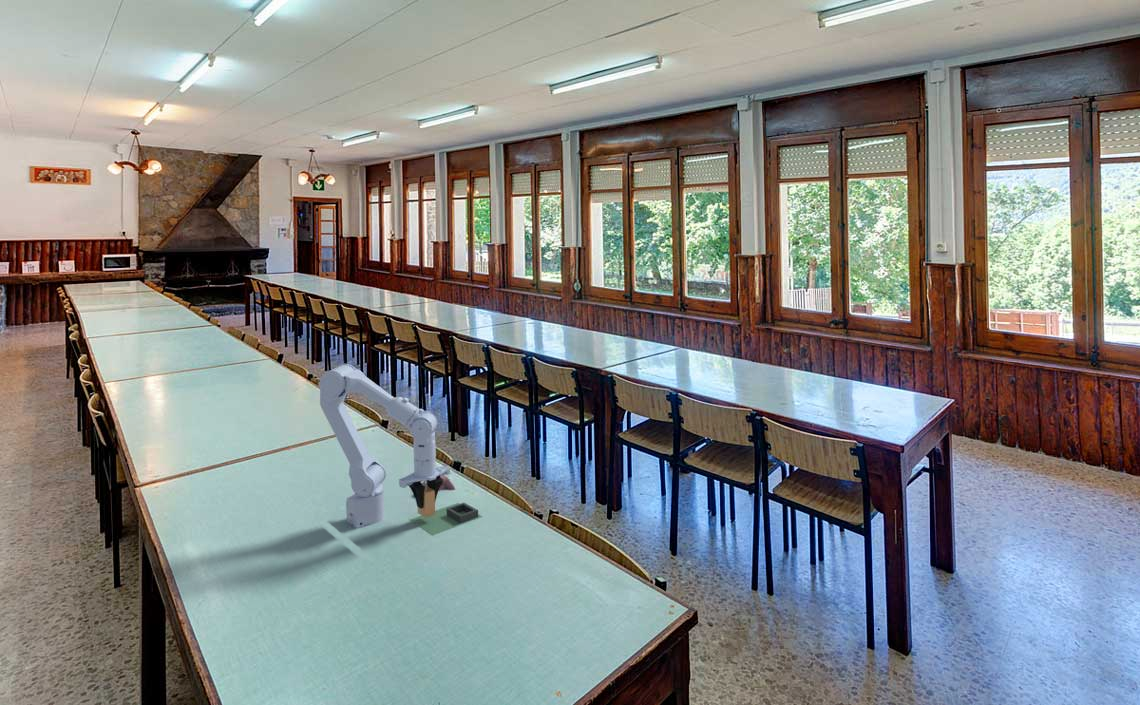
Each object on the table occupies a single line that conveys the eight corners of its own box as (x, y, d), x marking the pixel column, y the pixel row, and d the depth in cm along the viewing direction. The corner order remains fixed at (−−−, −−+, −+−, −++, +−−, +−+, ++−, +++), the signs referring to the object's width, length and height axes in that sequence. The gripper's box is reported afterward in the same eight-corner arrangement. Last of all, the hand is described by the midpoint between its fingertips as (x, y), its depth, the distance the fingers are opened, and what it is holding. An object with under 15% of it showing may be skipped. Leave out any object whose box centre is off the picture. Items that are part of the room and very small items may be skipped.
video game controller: (449, 494, 191) (442, 472, 191) (457, 491, 188) (450, 469, 189) (423, 504, 183) (416, 482, 184) (432, 501, 180) (424, 479, 181)
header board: (432, 539, 159) (432, 528, 158) (409, 523, 167) (408, 512, 167) (482, 520, 170) (482, 509, 169) (458, 506, 178) (458, 496, 178)
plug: (425, 517, 164) (424, 493, 163) (417, 513, 167) (416, 488, 166) (435, 514, 166) (434, 490, 165) (427, 509, 169) (426, 485, 168)
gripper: (408, 468, 156) (409, 518, 158) (456, 455, 166) (456, 502, 168) (394, 461, 161) (396, 509, 163) (441, 448, 171) (442, 494, 173)
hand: (426, 505), depth 166 cm, fingers closed on plug, 3 cm apart
